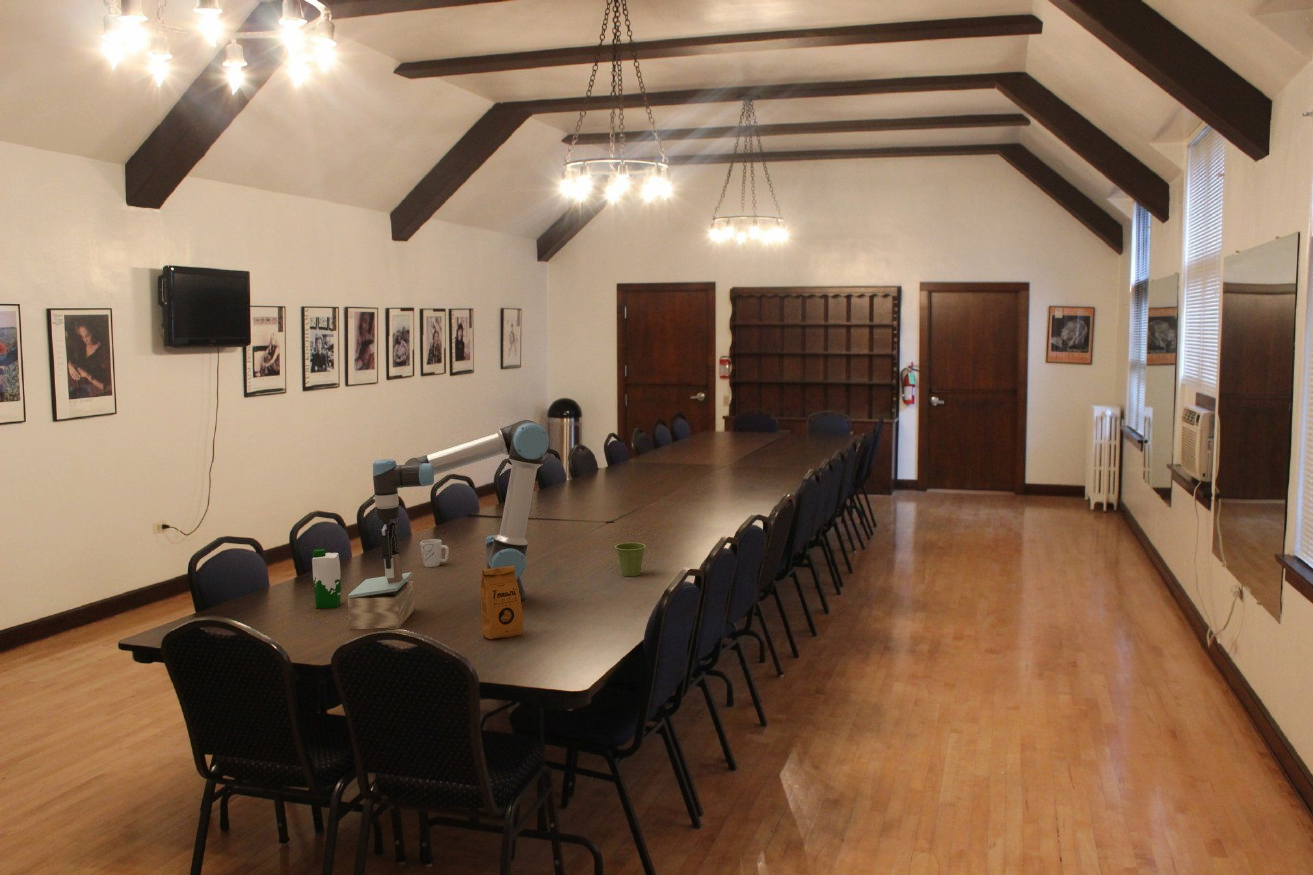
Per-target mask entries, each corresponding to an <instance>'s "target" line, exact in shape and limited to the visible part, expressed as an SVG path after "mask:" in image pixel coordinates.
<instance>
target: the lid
mask: <svg viewBox="0 0 1313 875" xmlns="http://www.w3.org/2000/svg"><path fill="white" fill-rule="evenodd" d="M392 558H393V565H394V578H386V577H385V575H384V576H379V577H378V576H377V577H371V578H366V579H365V580H363V581H362V582H361V583H360V584H359V585H358V586H356V588H354V589H353V590H352V591H351V592H350V593H349V594H348V595H347V599H348V598H354V597H361V596H367V595H373V594H380V593H386V592H393V591H397V590H398V589H399V588H400V587H401V586H402V585H403V584H404V583H405V582H406V581H409V579H410V578H411V577H412V576H413V572H412V571H411V572H404V573H403V571H402V567H401V561H400V555H399V554H395V555H392ZM382 560H383V563H384V566H385V562H384V559H382Z"/></svg>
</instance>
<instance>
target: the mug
mask: <svg viewBox="0 0 1313 875" xmlns="http://www.w3.org/2000/svg"><path fill="white" fill-rule="evenodd" d="M442 543H443V542H442V539H436V538H429V539H424V540H421V541H420V544H419V545H420V552H421V558H422V562H423V566H424V567H425V568H435V567H439V566H440V564H441V563H446V562H447V561H448V558H449V553H450V547H449V546H448V545H444V544H442ZM442 549H444V550H445V554H444V558H443V557H442Z"/></svg>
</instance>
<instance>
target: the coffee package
mask: <svg viewBox="0 0 1313 875" xmlns="http://www.w3.org/2000/svg"><path fill="white" fill-rule="evenodd" d="M514 572H515V566H508V567H501V568H491V569H487V568H486V569H482V570H481V574H480V577H481V580H480V596H479V598H480V622H481V623H480V624H481V635H482V636H484V637H485V638H486V639H489V640H492V639H501V638H511V637H517V636H523V633H524V632H523V631H524V620H523V619H524V618H523V616H524V615H523V606H522V601H521V598H520V594H519V588H518V584H517V580H516V576H515V574H514Z"/></svg>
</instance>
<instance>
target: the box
mask: <svg viewBox="0 0 1313 875" xmlns="http://www.w3.org/2000/svg"><path fill="white" fill-rule="evenodd" d="M414 584H415V583H414V580H407V581H406V582H405V583H404V584H403V585H402V586H401V587H400V588H399V589H398V590H397V591H393V592H386V593H380V594H373V595H367V596H361V597H354V598H348V597H347V613H348V628H349V630H374V629H373V628H388V629H387V630H389V629H390V630H391V629H392V630H394V629H395V630H397V629H400V628H401V627H402V625H403V624H404V623H405V622H406V621H407V619H408V618H409V617H410V616H411V615H412V614H413V612H414V611H415V610H416V606H415V605H416V604H415V587H414Z"/></svg>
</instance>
